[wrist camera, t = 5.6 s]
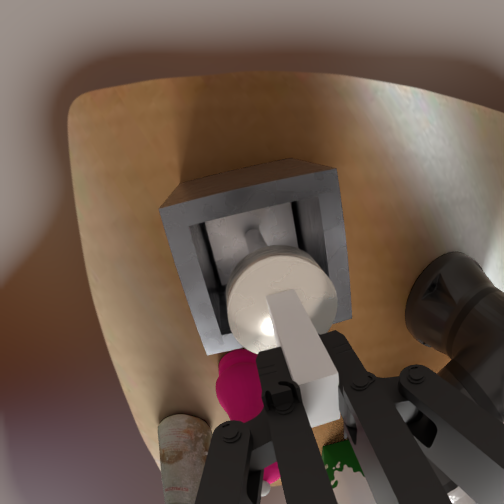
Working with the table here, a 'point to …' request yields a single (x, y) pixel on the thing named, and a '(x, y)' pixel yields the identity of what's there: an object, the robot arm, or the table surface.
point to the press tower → (243, 200)
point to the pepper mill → (243, 396)
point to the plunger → (267, 273)
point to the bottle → (182, 456)
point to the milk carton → (346, 474)
